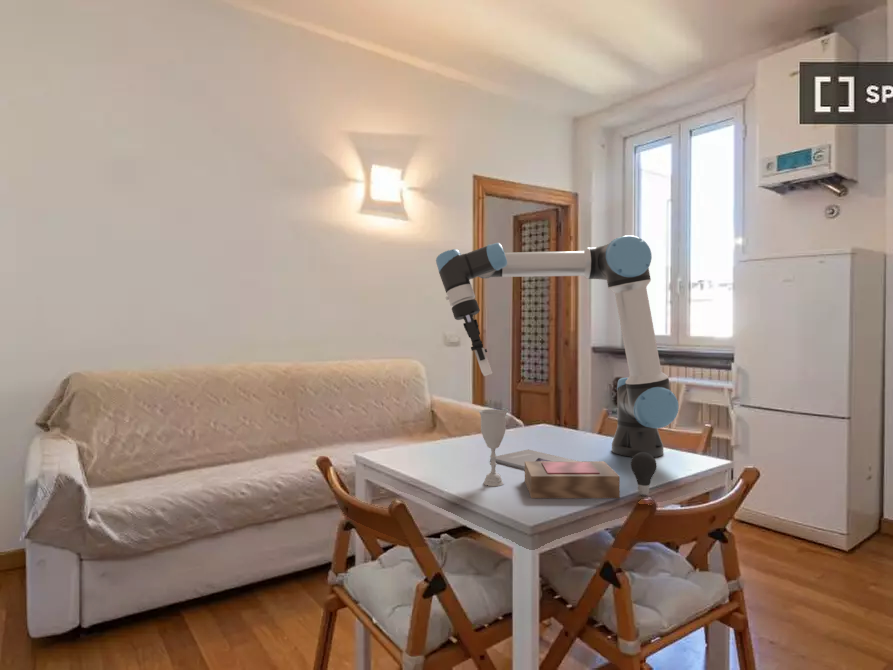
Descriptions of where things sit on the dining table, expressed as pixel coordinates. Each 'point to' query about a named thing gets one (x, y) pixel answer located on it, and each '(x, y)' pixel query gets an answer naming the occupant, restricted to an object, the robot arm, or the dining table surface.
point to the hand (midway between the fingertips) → (487, 373)
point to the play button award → (526, 458)
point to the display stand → (571, 479)
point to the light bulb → (643, 471)
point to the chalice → (493, 439)
